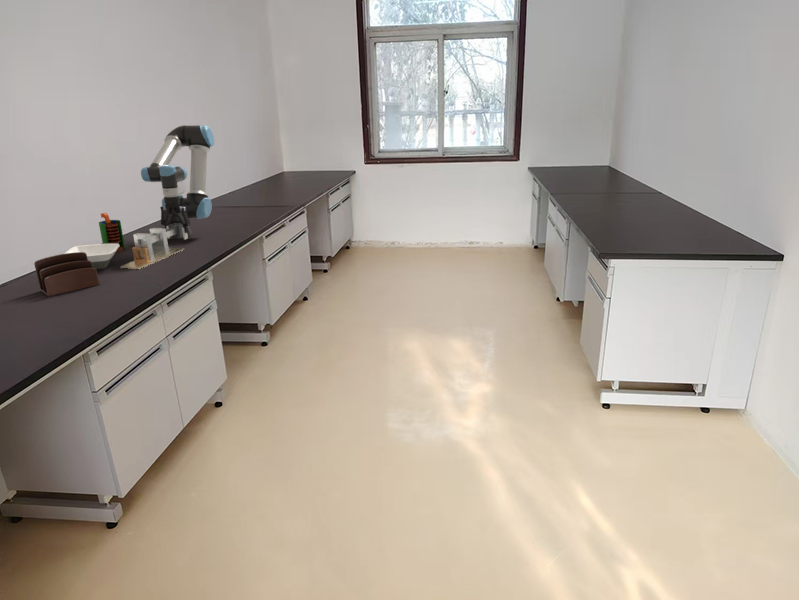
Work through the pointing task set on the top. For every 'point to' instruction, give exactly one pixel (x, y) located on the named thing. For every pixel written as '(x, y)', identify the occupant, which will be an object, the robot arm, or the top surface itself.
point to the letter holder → (65, 273)
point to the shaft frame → (156, 253)
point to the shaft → (168, 233)
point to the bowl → (97, 253)
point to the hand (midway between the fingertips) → (177, 238)
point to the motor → (111, 232)
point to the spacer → (136, 257)
